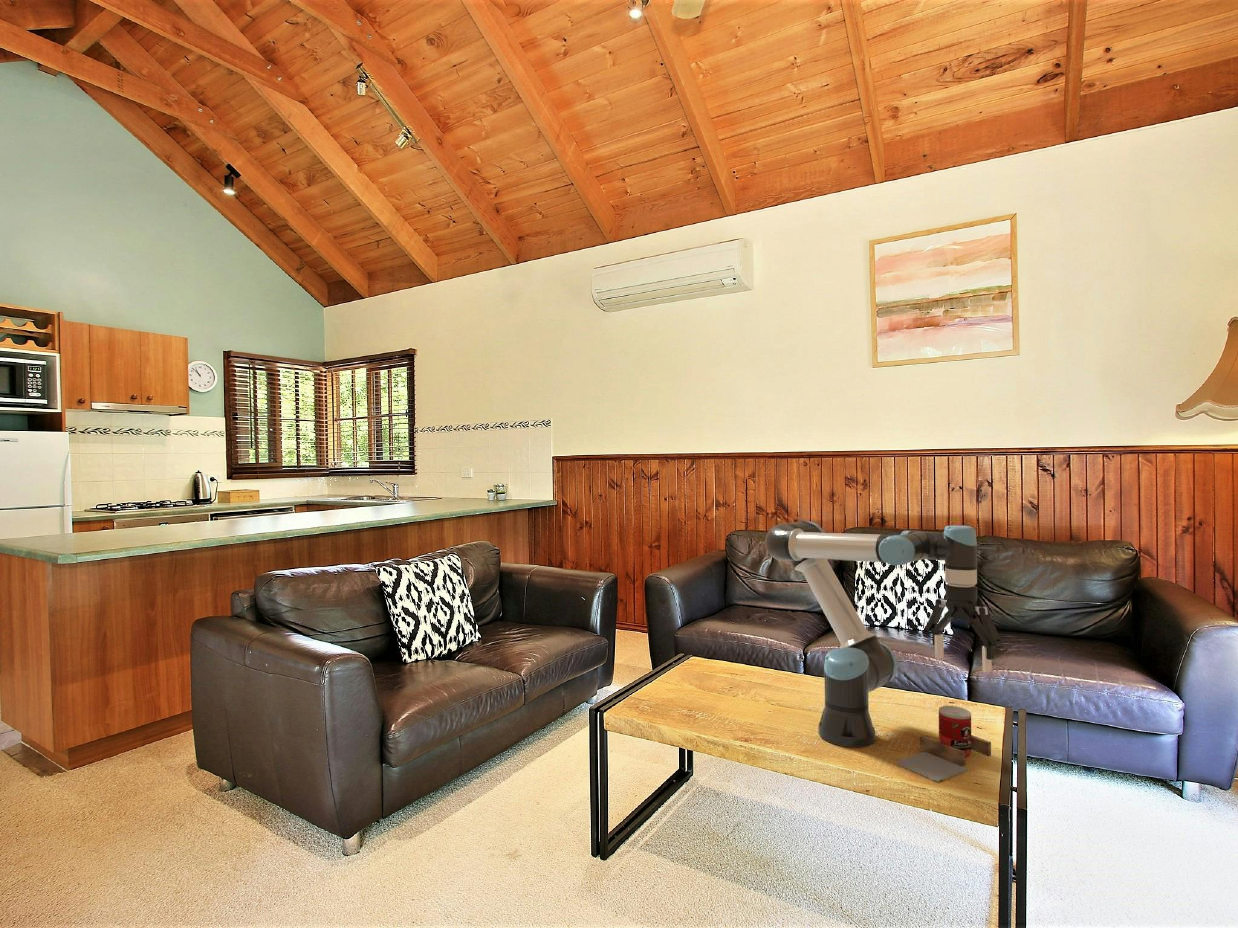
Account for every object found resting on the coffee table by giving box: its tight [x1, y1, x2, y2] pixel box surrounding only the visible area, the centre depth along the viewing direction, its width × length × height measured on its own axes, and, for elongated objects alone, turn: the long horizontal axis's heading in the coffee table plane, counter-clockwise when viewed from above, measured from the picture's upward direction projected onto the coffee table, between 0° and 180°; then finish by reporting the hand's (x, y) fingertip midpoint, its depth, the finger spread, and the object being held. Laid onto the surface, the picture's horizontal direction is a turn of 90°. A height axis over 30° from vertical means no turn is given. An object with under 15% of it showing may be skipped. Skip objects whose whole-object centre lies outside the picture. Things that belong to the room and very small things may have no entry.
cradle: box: [919, 734, 992, 767], centre depth 178 cm, size 12×12×4 cm
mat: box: [894, 751, 969, 783], centre depth 170 cm, size 12×12×1 cm
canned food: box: [938, 705, 972, 759], centre depth 178 cm, size 8×8×11 cm
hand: (962, 664), depth 179 cm, fingers open, 13 cm apart
